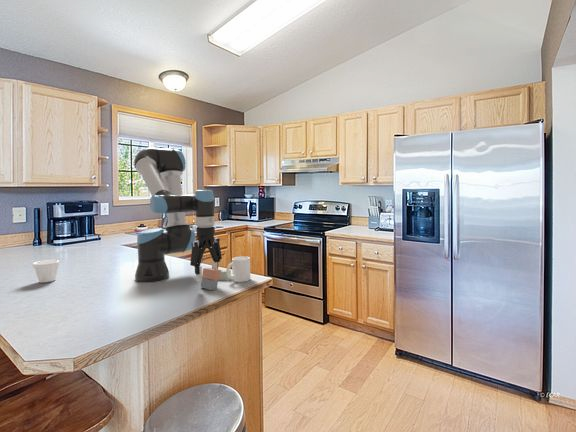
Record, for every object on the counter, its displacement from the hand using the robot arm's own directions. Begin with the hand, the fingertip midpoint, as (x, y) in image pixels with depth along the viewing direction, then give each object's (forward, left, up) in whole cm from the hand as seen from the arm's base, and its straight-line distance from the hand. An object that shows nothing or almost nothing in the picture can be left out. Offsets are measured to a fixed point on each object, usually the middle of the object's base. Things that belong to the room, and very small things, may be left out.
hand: (207, 279), depth 137 cm
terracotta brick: (+1, +1, 0) cm, 2 cm away
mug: (+4, +15, -4) cm, 16 cm away
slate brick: (+1, 0, -4) cm, 4 cm away
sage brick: (-5, +14, -4) cm, 16 cm away
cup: (-72, -33, -4) cm, 79 cm away
